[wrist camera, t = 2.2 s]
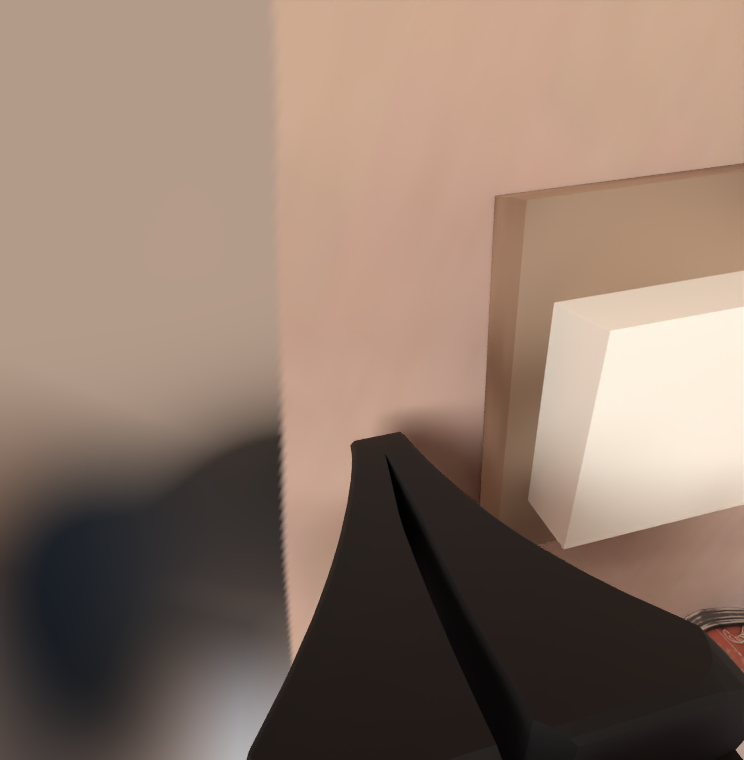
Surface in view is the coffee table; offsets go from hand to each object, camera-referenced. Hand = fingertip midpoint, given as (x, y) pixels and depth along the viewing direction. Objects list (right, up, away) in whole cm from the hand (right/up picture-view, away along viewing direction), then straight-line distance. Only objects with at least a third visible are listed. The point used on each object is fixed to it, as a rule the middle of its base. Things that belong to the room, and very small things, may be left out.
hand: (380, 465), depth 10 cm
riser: (+8, +3, +3) cm, 9 cm away
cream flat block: (+8, +2, +2) cm, 9 cm away
